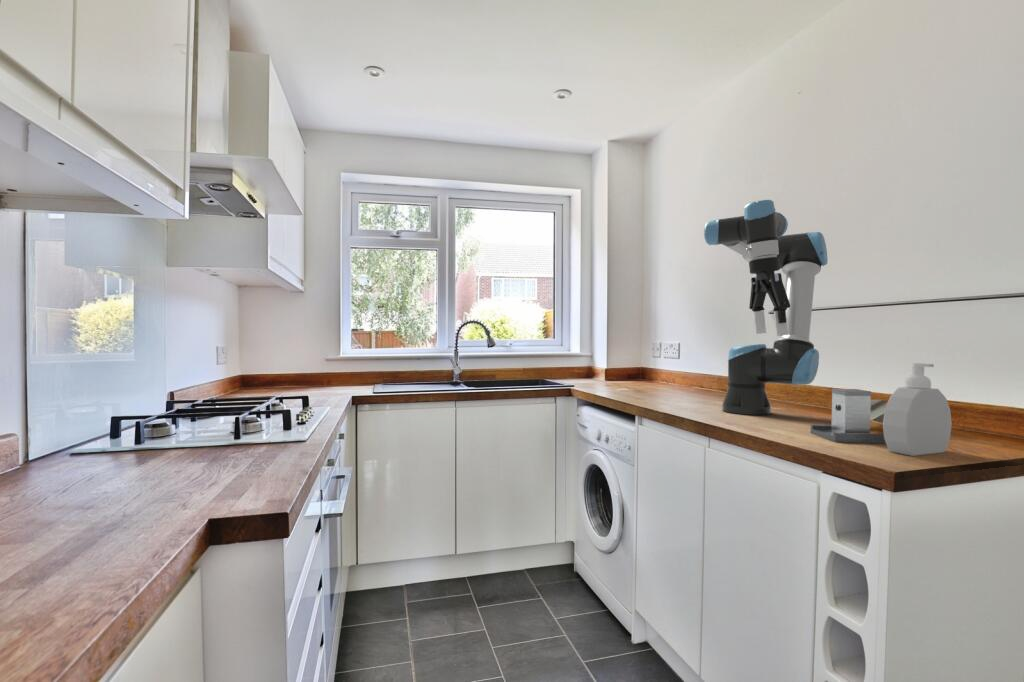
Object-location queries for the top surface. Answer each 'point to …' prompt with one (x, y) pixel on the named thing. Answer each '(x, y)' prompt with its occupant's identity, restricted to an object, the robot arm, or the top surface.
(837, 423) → the lock block
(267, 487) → the top surface
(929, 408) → the soap bottle
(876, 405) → the gray slanted bracket
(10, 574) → the top surface
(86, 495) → the top surface
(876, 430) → the hitch plate
